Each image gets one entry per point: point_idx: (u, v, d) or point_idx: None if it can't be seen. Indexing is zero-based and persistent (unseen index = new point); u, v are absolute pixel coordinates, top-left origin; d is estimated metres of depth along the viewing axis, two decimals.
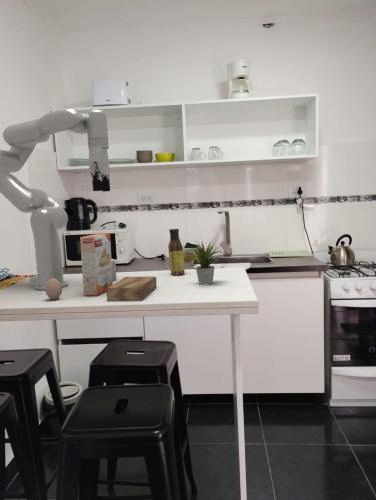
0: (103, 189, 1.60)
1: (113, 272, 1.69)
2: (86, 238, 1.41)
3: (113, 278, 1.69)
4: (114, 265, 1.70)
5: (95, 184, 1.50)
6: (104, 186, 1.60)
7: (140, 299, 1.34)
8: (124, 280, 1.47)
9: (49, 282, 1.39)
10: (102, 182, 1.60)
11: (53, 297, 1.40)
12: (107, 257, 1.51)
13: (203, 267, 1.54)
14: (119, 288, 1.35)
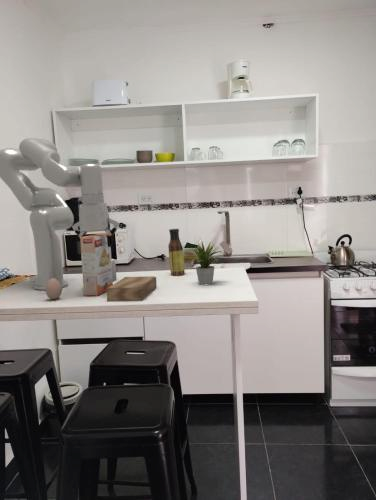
0: None
1: (113, 272, 1.70)
2: (86, 238, 1.41)
3: (113, 278, 1.70)
4: (114, 265, 1.71)
5: (112, 240, 1.47)
6: None
7: (140, 299, 1.34)
8: (124, 280, 1.47)
9: (49, 282, 1.39)
10: None
11: (53, 297, 1.40)
12: (107, 257, 1.51)
13: (203, 267, 1.54)
14: (119, 288, 1.35)
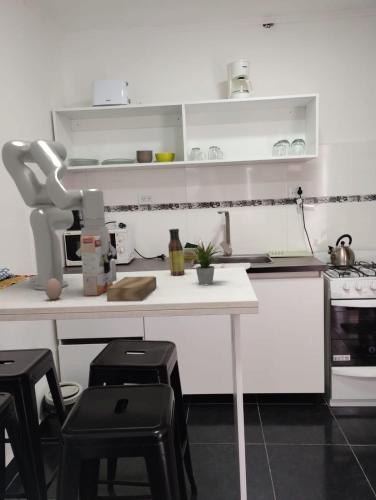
0: None
1: (113, 272, 1.70)
2: (86, 238, 1.41)
3: (113, 278, 1.70)
4: (114, 265, 1.71)
5: (109, 266, 1.48)
6: None
7: (140, 299, 1.34)
8: (124, 280, 1.47)
9: (49, 282, 1.39)
10: None
11: (53, 297, 1.40)
12: None
13: (203, 267, 1.54)
14: (119, 288, 1.35)
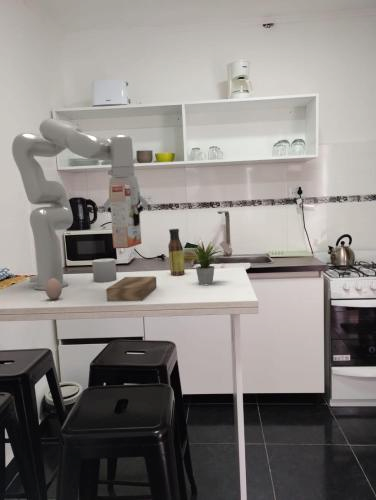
0: None
1: (113, 272, 1.70)
2: (116, 186, 1.34)
3: (113, 277, 1.70)
4: (114, 265, 1.71)
5: (138, 218, 1.41)
6: None
7: (140, 299, 1.34)
8: (124, 280, 1.47)
9: (49, 282, 1.39)
10: None
11: (53, 297, 1.40)
12: None
13: (203, 267, 1.54)
14: (119, 288, 1.35)
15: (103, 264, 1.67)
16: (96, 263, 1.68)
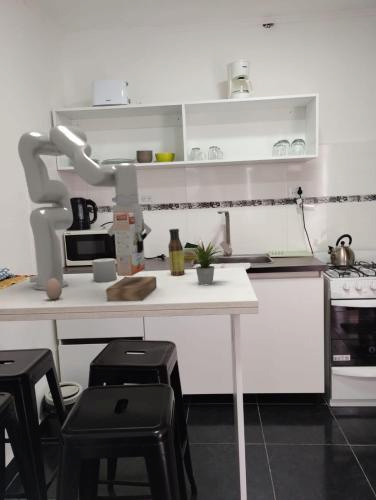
0: None
1: (113, 271, 1.71)
2: (120, 215, 1.34)
3: (113, 277, 1.71)
4: (114, 264, 1.72)
5: (142, 245, 1.41)
6: None
7: (140, 299, 1.34)
8: (124, 280, 1.47)
9: (49, 282, 1.39)
10: None
11: (53, 297, 1.40)
12: None
13: (203, 267, 1.54)
14: (119, 288, 1.35)
15: (103, 264, 1.68)
16: (96, 263, 1.68)
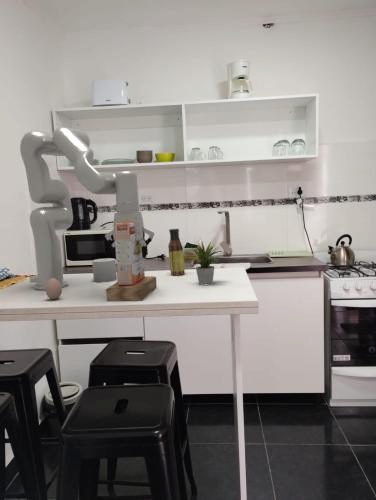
0: None
1: (113, 271, 1.71)
2: (121, 225, 1.35)
3: (113, 277, 1.71)
4: (114, 264, 1.72)
5: (146, 250, 1.41)
6: None
7: (140, 299, 1.34)
8: None
9: (49, 282, 1.39)
10: None
11: (53, 297, 1.40)
12: (140, 245, 1.44)
13: (203, 267, 1.54)
14: (119, 288, 1.35)
15: (103, 264, 1.68)
16: (96, 263, 1.68)
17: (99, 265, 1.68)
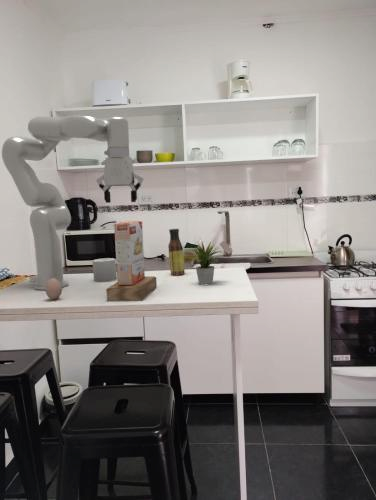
0: (108, 200, 1.48)
1: (113, 271, 1.71)
2: (121, 225, 1.35)
3: (113, 277, 1.71)
4: (114, 264, 1.72)
5: (135, 195, 1.47)
6: (108, 197, 1.48)
7: (140, 299, 1.34)
8: None
9: (49, 282, 1.39)
10: (107, 192, 1.48)
11: (53, 297, 1.40)
12: (140, 245, 1.44)
13: (203, 267, 1.54)
14: (119, 288, 1.35)
15: (103, 264, 1.68)
16: (96, 263, 1.69)
17: (99, 265, 1.69)
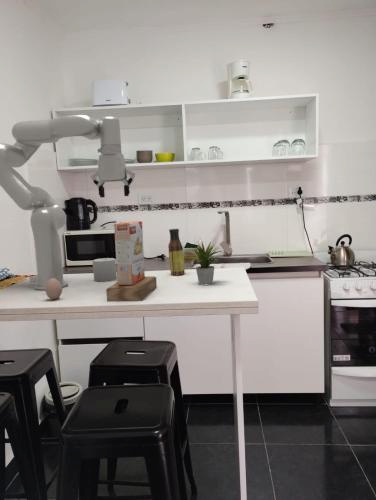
0: (102, 195, 1.57)
1: (113, 271, 1.72)
2: (121, 225, 1.35)
3: (113, 277, 1.72)
4: (114, 264, 1.73)
5: (128, 189, 1.56)
6: (102, 192, 1.58)
7: (140, 299, 1.34)
8: None
9: (49, 282, 1.39)
10: (101, 188, 1.57)
11: (53, 297, 1.40)
12: (140, 245, 1.44)
13: (203, 267, 1.54)
14: (119, 288, 1.35)
15: (103, 264, 1.69)
16: (96, 263, 1.69)
17: (99, 265, 1.69)
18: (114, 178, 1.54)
